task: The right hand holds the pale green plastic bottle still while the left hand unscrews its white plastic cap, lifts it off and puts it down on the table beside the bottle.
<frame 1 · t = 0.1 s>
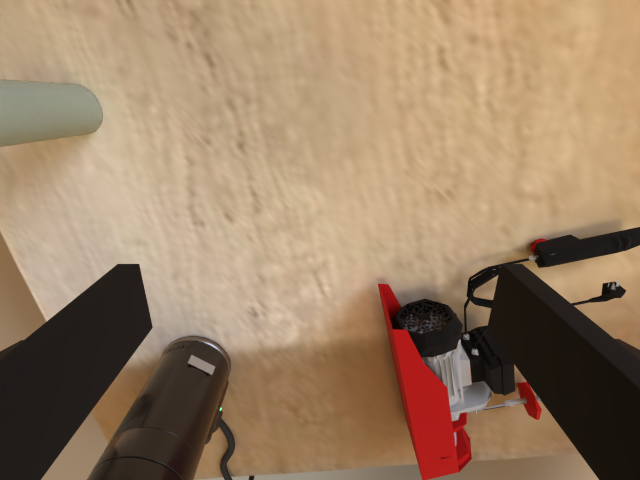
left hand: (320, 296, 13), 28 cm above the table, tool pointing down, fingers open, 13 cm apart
electric hoist: (501, 334, 47), on the table
bottle: (78, 109, 37), on the table
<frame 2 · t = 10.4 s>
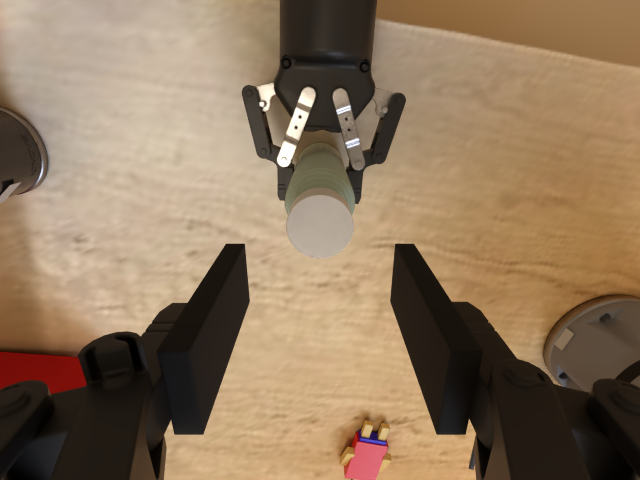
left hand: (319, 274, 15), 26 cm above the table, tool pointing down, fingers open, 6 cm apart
right hand: (319, 205, 33), fingers closed on bottle, 5 cm apart
electric hoist: (48, 428, 54), on the table
bottle: (320, 165, 39), on the table, touching right hand
toy figure: (365, 446, 55), on the table
cap: (320, 226, 20), point 20 cm above the table, screwed on, not yet turned
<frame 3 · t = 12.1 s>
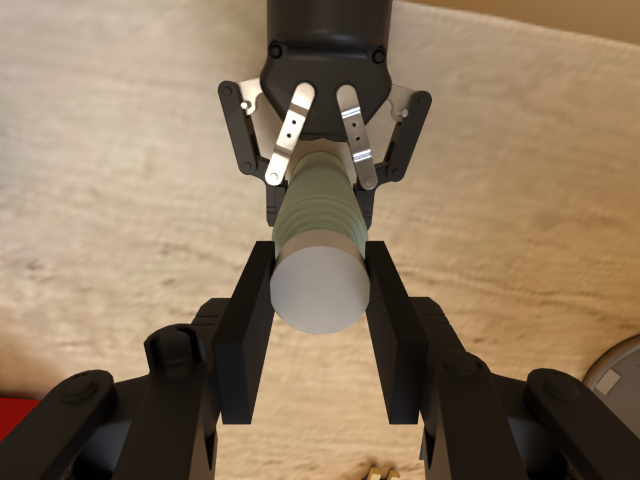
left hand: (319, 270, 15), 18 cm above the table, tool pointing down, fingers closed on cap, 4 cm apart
right hand: (318, 231, 27), fingers closed on bottle, 5 cm apart
electric hoist: (9, 475, 47), on the table
bottle: (320, 179, 32), on the table, touching right hand
cap: (320, 288, 13), point 20 cm above the table, screwed on, not yet turned, touching left hand
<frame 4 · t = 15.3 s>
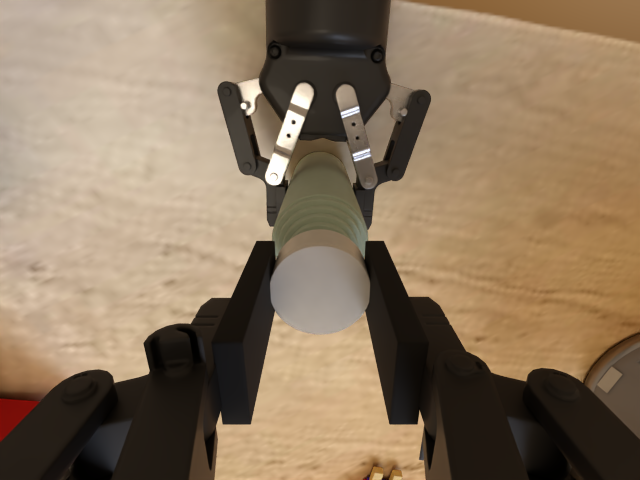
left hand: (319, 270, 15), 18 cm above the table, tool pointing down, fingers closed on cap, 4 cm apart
right hand: (319, 231, 27), fingers closed on bottle, 5 cm apart
electric hoist: (12, 476, 47), on the table
bottle: (320, 179, 32), on the table, touching right hand
cap: (320, 288, 13), point 20 cm above the table, turned 97° so far, risen 0.1 cm, still on its thread, touching left hand
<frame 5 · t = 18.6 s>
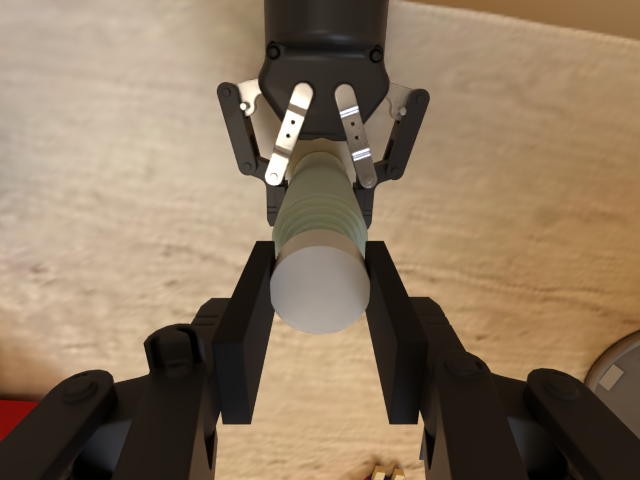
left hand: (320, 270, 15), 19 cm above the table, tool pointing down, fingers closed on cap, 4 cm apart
right hand: (319, 230, 27), fingers closed on bottle, 5 cm apart
electric hoist: (16, 477, 47), on the table
bottle: (320, 179, 32), on the table, touching right hand
cap: (320, 288, 13), point 20 cm above the table, turned 193° so far, risen 0.2 cm, still on its thread, touching left hand
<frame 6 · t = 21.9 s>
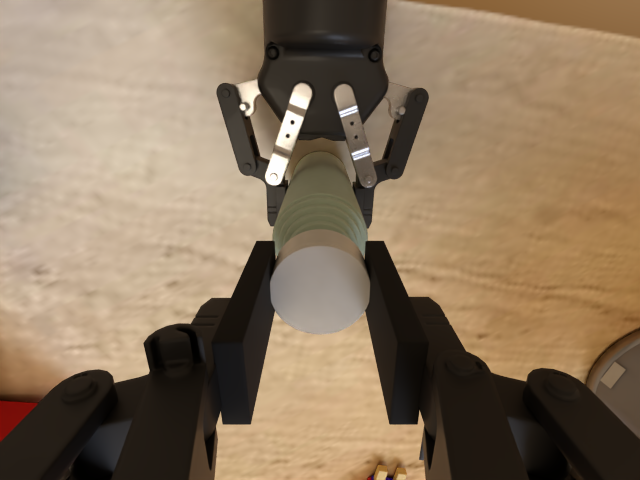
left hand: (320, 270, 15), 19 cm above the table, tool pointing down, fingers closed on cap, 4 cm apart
right hand: (319, 230, 27), fingers closed on bottle, 5 cm apart
electric hoist: (19, 478, 47), on the table
bottle: (320, 178, 32), on the table, touching right hand
cap: (320, 288, 13), point 20 cm above the table, turned 290° so far, risen 0.2 cm, still on its thread, touching left hand
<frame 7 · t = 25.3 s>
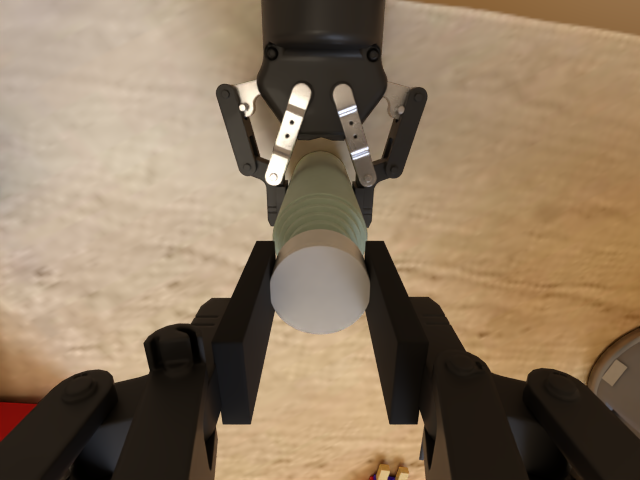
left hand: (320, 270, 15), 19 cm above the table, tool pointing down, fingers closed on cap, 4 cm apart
right hand: (320, 230, 27), fingers closed on bottle, 5 cm apart
electric hoist: (23, 479, 48), on the table
bottle: (320, 178, 32), on the table, touching right hand
cap: (320, 288, 13), point 20 cm above the table, turned 387° so far, risen 0.3 cm, still on its thread, touching left hand
when the left hand's fingers open (1 cm above the table, at t = 32.1 s): cap drops 1 cm, point 1 cm above the table.
when the right hand's fingers open (7 cm above the table, at t = 33.4 s): bottle stays where it is, on the table.
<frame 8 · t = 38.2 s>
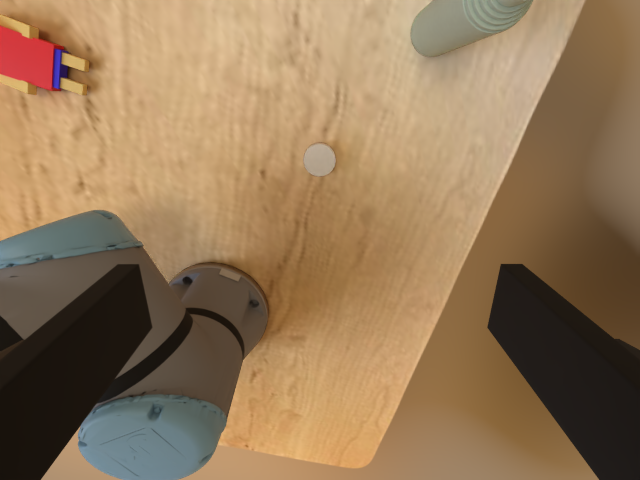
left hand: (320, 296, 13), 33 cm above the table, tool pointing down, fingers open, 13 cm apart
bottle: (433, 31, 38), on the table
toy figure: (36, 60, 39), on the table
cap: (319, 160, 42), point 1 cm above the table, off its thread
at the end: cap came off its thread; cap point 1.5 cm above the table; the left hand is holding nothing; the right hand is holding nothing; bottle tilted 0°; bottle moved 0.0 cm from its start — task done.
